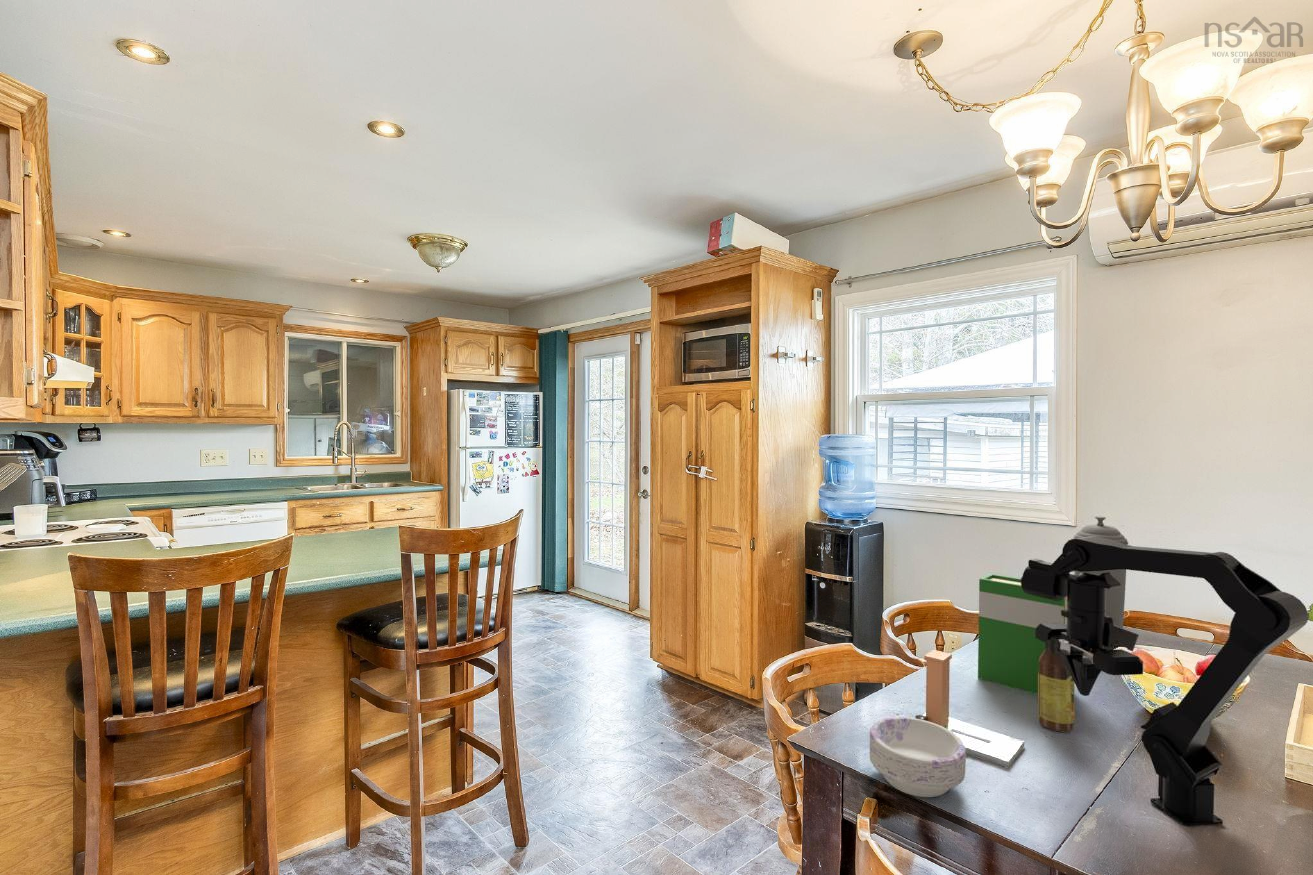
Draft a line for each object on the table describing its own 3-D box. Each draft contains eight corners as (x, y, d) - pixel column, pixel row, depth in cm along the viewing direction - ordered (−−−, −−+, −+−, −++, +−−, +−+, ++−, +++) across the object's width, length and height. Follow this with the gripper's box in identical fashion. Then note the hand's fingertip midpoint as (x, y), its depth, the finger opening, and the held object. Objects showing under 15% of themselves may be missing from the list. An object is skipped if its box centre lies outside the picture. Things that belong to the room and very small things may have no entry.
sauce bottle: (1079, 735, 126) (1081, 634, 125) (1044, 732, 127) (1046, 632, 127) (1065, 720, 132) (1067, 624, 132) (1032, 717, 133) (1034, 622, 133)
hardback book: (1071, 691, 146) (1073, 587, 146) (1062, 701, 141) (1064, 593, 141) (988, 669, 159) (990, 573, 158) (977, 677, 154) (979, 578, 153)
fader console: (1024, 747, 121) (1024, 730, 121) (1008, 767, 114) (1008, 750, 114) (927, 716, 134) (927, 701, 133) (907, 733, 126) (908, 717, 126)
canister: (1135, 649, 173) (1138, 520, 172) (1082, 646, 176) (1084, 519, 175) (1113, 634, 185) (1116, 514, 184) (1064, 631, 188) (1066, 512, 187)
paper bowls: (960, 820, 99) (960, 769, 99) (859, 790, 107) (860, 743, 107) (969, 773, 112) (970, 729, 112) (879, 750, 120) (880, 708, 120)
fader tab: (950, 722, 128) (951, 654, 127) (942, 730, 124) (943, 660, 124) (932, 716, 130) (933, 649, 130) (923, 724, 127) (924, 655, 127)
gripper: (1175, 623, 105) (1173, 717, 105) (1088, 592, 123) (1087, 672, 124) (1111, 625, 104) (1109, 720, 104) (1034, 594, 122) (1032, 674, 123)
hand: (1084, 694), depth 114 cm, fingers closed
